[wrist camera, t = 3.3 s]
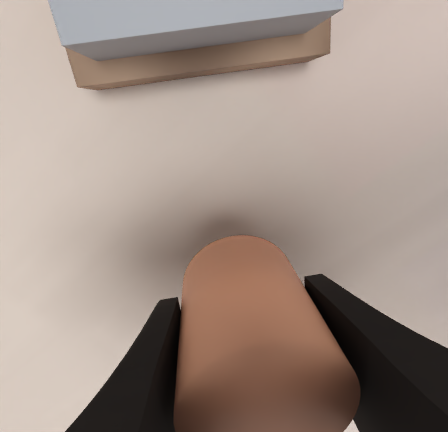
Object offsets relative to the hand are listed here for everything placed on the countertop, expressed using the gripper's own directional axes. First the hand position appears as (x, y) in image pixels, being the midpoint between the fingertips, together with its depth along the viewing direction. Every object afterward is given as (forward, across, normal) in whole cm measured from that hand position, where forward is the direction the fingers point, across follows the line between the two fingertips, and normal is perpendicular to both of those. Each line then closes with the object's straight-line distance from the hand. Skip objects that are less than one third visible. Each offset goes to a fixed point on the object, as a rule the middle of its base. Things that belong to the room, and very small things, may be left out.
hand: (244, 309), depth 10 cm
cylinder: (+2, 0, 0) cm, 2 cm away
